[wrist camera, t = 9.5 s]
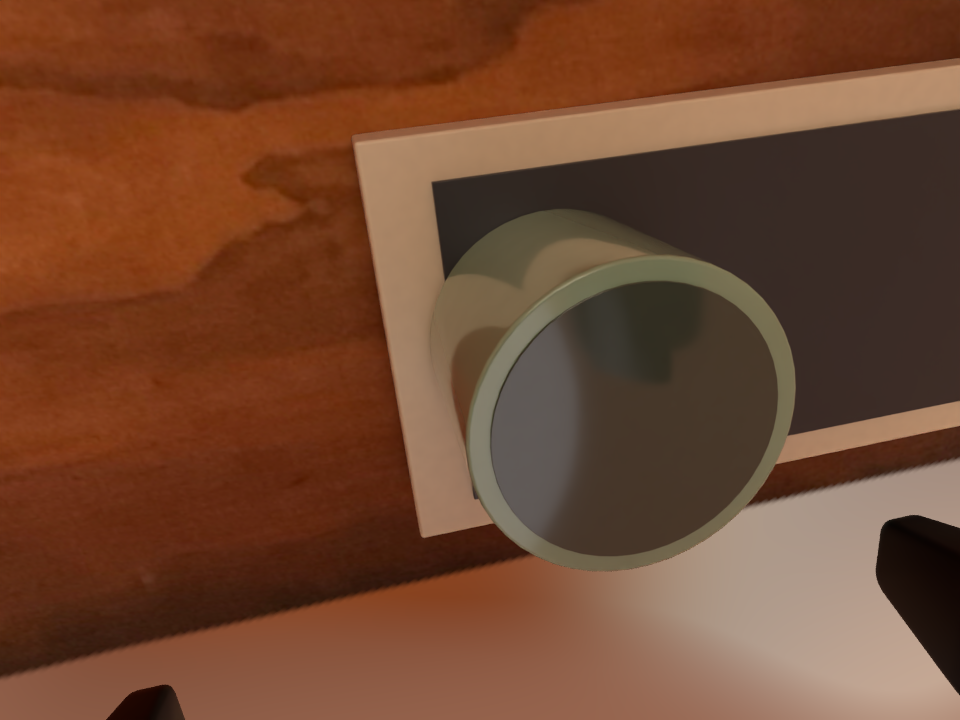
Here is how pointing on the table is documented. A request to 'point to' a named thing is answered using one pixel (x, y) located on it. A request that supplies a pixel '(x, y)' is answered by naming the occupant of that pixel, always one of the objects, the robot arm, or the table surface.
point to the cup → (608, 388)
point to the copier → (705, 238)
